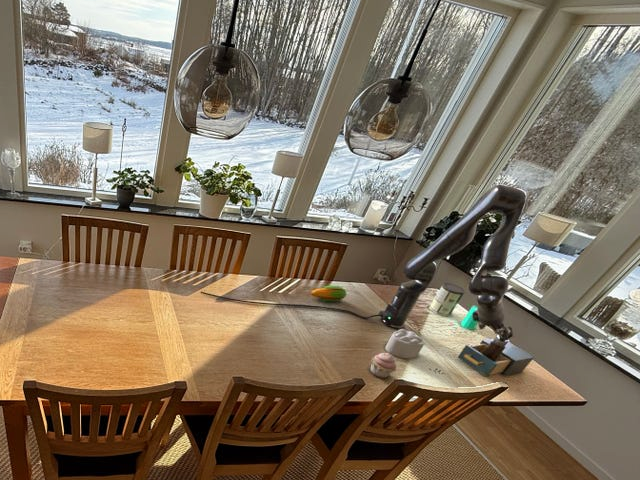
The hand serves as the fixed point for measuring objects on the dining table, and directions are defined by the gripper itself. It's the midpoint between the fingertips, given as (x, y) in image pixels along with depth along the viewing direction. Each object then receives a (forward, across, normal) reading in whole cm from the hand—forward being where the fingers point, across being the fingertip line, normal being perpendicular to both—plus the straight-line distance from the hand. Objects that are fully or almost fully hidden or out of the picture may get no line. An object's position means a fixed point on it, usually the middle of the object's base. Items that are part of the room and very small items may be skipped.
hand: (492, 333), depth 158 cm
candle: (+38, -27, +12) cm, 48 cm away
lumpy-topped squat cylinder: (-2, -16, -28) cm, 33 cm away
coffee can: (+37, -41, +11) cm, 56 cm away
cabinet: (+26, 0, 0) cm, 26 cm away
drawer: (+16, 0, -8) cm, 18 cm away
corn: (-6, -60, -32) cm, 68 cm away
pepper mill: (+18, 0, -5) cm, 19 cm away
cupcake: (-18, -6, -44) cm, 48 cm away
